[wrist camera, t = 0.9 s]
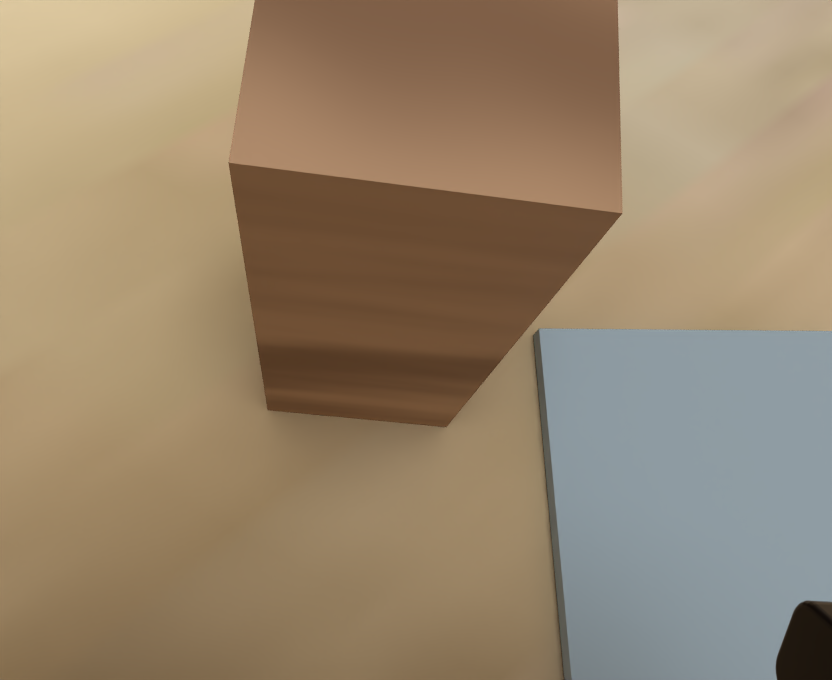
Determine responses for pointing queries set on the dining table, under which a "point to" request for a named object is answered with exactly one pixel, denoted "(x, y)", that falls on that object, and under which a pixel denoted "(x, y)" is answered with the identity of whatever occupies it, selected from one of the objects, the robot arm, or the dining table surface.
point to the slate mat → (685, 496)
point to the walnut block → (417, 190)
